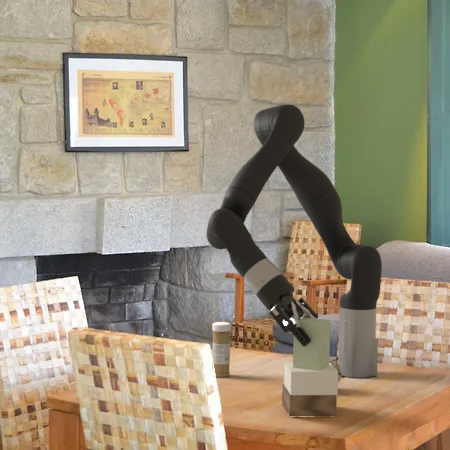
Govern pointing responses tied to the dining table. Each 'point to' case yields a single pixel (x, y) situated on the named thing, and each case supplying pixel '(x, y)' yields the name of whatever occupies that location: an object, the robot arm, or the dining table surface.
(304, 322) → the sage block
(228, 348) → the sprinkles bottle
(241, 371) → the dining table surface
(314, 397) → the tower bottom
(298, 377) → the tower top
